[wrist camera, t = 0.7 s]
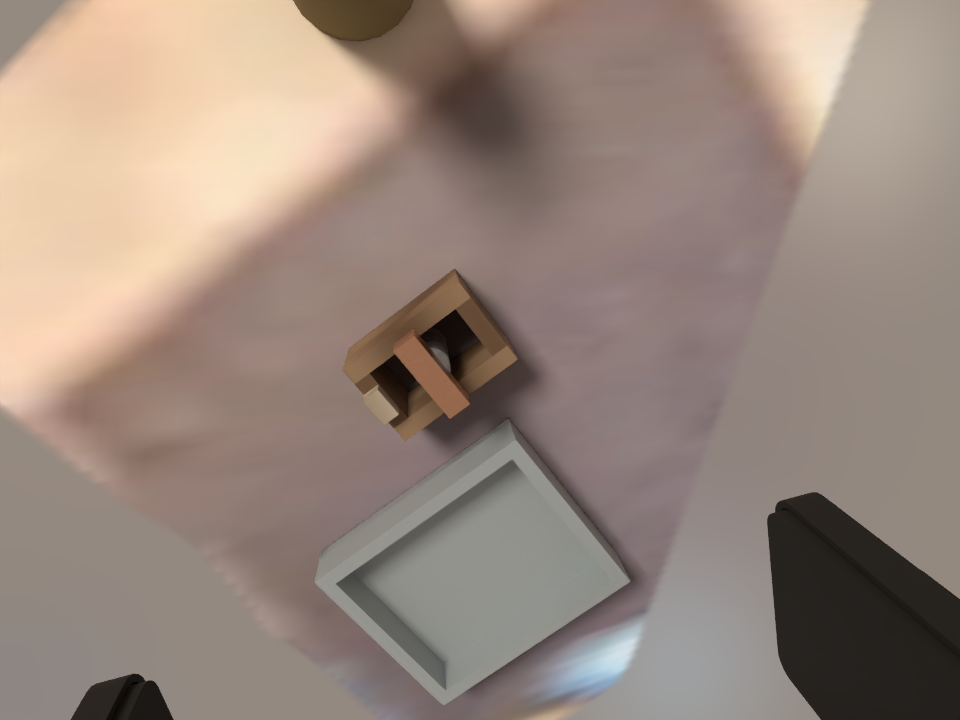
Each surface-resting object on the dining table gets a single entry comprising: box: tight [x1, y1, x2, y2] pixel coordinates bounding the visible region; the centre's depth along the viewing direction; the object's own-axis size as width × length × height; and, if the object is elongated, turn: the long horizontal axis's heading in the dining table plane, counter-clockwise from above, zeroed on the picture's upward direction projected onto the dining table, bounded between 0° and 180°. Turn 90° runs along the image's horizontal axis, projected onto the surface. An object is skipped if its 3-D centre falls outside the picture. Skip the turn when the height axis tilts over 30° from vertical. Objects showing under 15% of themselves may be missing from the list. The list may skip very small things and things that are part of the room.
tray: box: [314, 419, 631, 706], centre depth 38 cm, size 14×12×3 cm
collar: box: [342, 269, 518, 441], centre depth 33 cm, size 7×5×4 cm
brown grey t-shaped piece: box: [393, 328, 470, 419], centre depth 32 cm, size 2×4×5 cm, turn 37°
